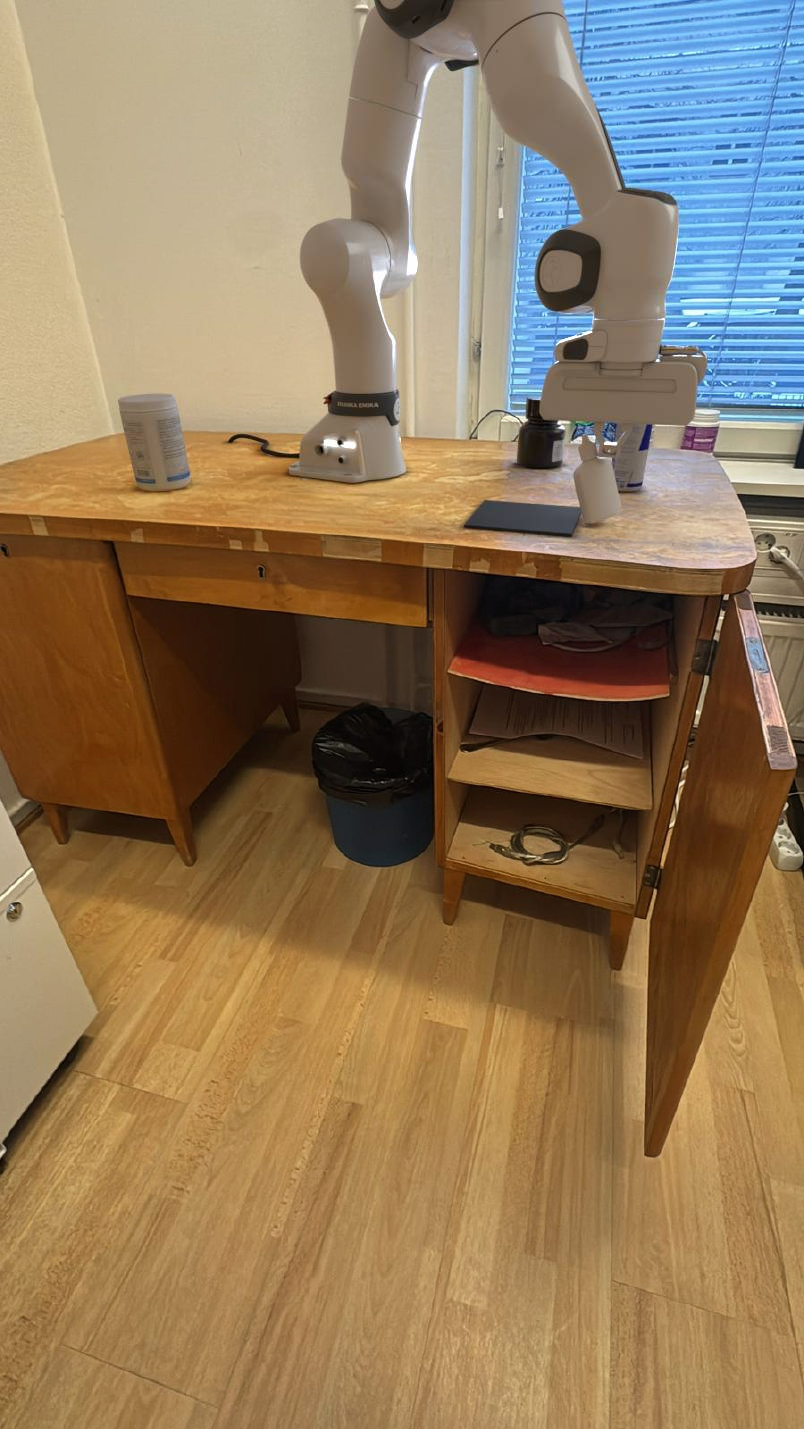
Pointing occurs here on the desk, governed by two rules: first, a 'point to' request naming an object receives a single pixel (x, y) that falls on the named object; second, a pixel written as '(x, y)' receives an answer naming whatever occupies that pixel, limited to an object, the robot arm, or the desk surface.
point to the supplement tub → (155, 441)
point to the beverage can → (632, 457)
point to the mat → (525, 518)
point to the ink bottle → (540, 438)
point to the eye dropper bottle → (595, 484)
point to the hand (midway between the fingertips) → (608, 456)
